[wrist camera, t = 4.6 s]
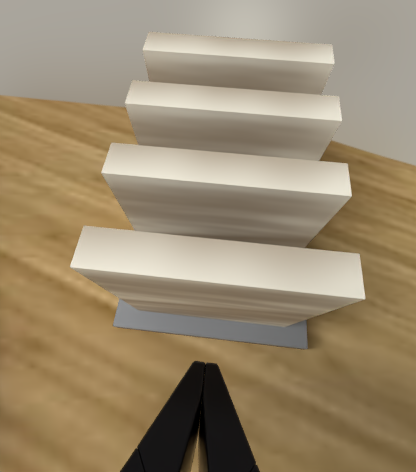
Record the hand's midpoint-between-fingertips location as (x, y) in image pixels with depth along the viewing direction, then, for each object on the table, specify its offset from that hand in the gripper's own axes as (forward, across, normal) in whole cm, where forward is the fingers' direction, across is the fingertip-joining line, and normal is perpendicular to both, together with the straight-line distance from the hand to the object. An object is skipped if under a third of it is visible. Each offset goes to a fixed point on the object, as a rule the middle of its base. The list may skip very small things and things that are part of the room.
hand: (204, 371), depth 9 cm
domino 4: (+17, 0, -5) cm, 18 cm away
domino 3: (+14, 0, -2) cm, 14 cm away
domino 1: (+8, 0, +3) cm, 9 cm away
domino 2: (+11, 0, 0) cm, 11 cm away
